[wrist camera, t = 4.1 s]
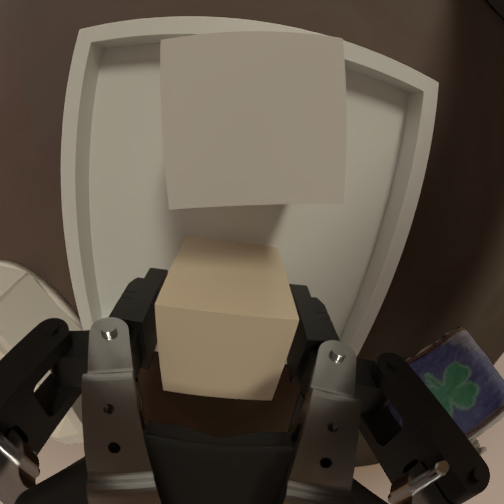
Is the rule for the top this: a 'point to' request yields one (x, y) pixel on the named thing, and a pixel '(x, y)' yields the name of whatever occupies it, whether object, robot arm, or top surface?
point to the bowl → (27, 318)
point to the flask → (461, 383)
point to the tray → (234, 217)
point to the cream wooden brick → (225, 320)
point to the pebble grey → (253, 119)
